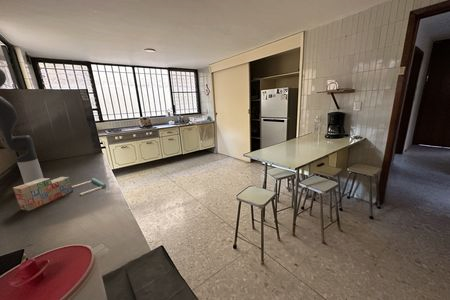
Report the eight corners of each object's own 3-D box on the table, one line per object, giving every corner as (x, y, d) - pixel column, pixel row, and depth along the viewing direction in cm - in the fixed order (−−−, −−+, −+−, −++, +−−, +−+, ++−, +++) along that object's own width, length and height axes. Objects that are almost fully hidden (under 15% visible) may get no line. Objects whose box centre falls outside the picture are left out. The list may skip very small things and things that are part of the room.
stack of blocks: (66, 190, 112) (60, 171, 109) (73, 191, 111) (68, 172, 108) (20, 209, 92) (12, 187, 89) (28, 211, 91) (20, 188, 88)
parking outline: (70, 187, 116) (70, 184, 115) (94, 180, 126) (93, 177, 125) (81, 195, 105) (80, 192, 104) (106, 186, 115) (105, 183, 114)
